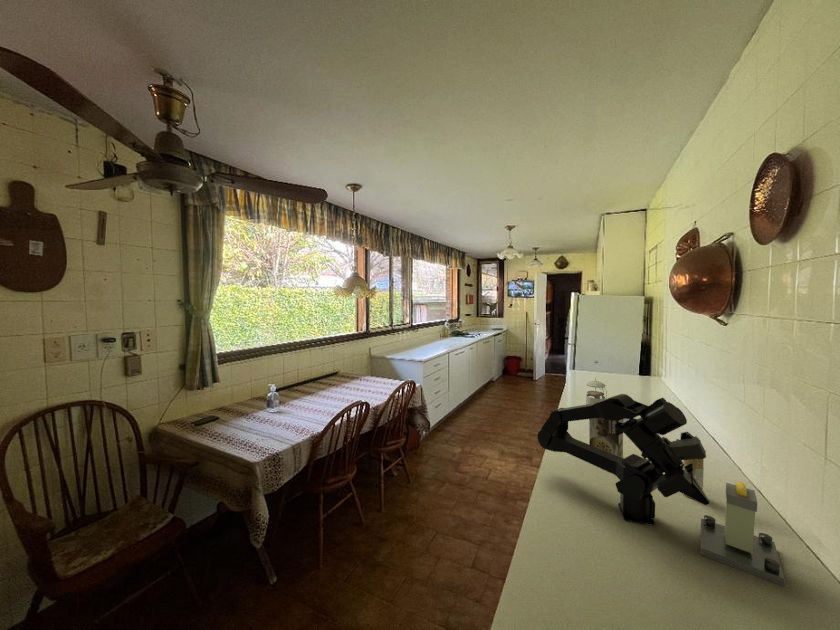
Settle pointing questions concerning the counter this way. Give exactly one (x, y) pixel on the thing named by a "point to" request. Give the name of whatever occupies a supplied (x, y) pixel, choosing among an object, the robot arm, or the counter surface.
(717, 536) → the plate
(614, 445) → the coffee box
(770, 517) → the counter surface
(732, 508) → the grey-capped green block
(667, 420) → the robot arm
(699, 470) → the sprinkles bottle
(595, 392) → the french press
